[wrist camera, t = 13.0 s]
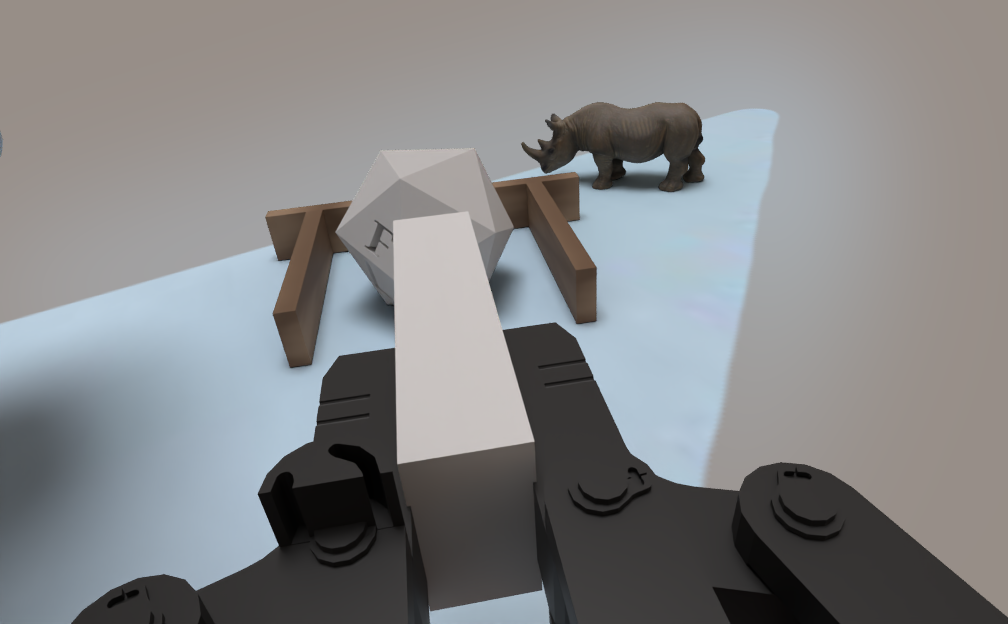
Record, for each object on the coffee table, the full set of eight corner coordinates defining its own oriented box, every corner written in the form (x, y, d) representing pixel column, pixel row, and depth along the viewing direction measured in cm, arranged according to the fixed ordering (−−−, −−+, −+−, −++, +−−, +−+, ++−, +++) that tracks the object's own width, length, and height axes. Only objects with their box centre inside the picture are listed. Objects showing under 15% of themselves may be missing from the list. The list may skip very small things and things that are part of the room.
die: (357, 282, 37) (277, 200, 28) (451, 184, 39) (403, 75, 30) (452, 363, 34) (396, 298, 25) (549, 253, 36) (529, 155, 27)
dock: (236, 375, 29) (215, 322, 27) (280, 253, 40) (268, 211, 38) (644, 313, 30) (647, 259, 29) (575, 214, 42) (575, 172, 40)
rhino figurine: (530, 172, 50) (526, 97, 47) (703, 175, 47) (712, 94, 44) (518, 189, 47) (512, 110, 44) (703, 194, 43) (712, 108, 40)
